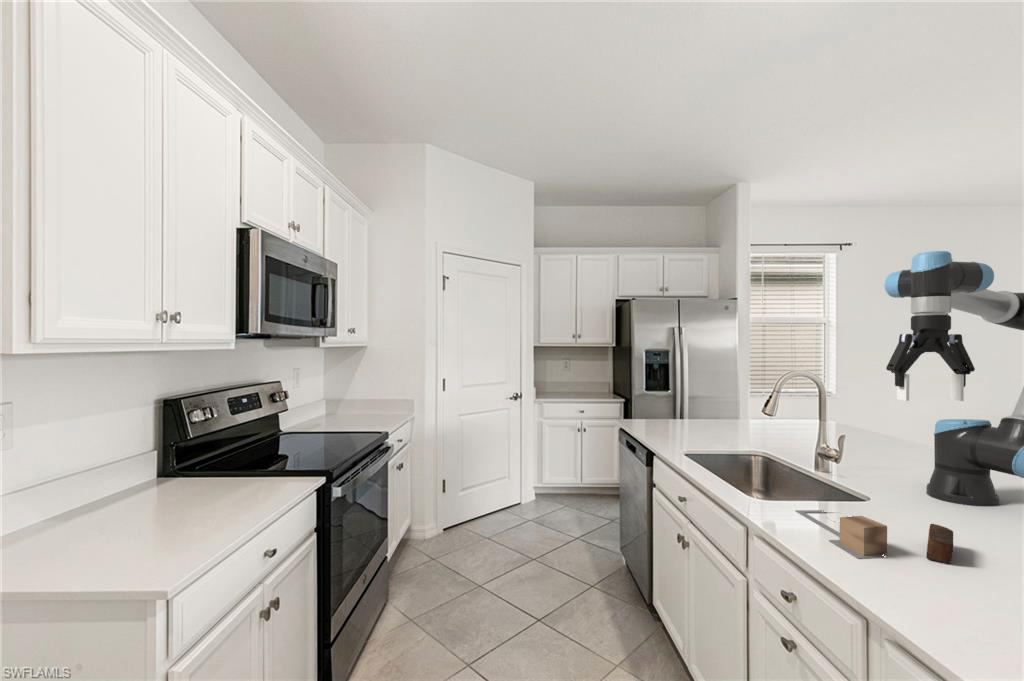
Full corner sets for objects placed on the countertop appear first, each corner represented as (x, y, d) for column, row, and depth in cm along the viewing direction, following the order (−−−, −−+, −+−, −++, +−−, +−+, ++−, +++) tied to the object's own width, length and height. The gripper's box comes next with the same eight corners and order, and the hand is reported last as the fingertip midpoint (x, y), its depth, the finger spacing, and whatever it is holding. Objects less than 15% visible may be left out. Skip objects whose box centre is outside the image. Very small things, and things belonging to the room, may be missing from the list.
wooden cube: (861, 541, 108) (861, 515, 108) (887, 553, 103) (887, 525, 103) (839, 543, 107) (839, 517, 107) (863, 555, 101) (864, 527, 101)
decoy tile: (867, 540, 109) (867, 539, 109) (899, 558, 100) (899, 557, 100) (828, 540, 109) (828, 540, 109) (857, 558, 100) (857, 557, 100)
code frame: (842, 511, 129) (842, 510, 129) (893, 537, 112) (893, 536, 112) (795, 511, 128) (795, 510, 128) (839, 537, 111) (839, 536, 111)
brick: (951, 567, 96) (954, 545, 96) (925, 559, 99) (928, 538, 98) (951, 547, 104) (954, 526, 103) (927, 540, 107) (930, 520, 106)
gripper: (965, 315, 121) (964, 398, 121) (869, 315, 121) (868, 398, 121) (995, 314, 114) (994, 402, 114) (893, 313, 113) (893, 401, 113)
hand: (929, 400), depth 117 cm, fingers open, 13 cm apart
